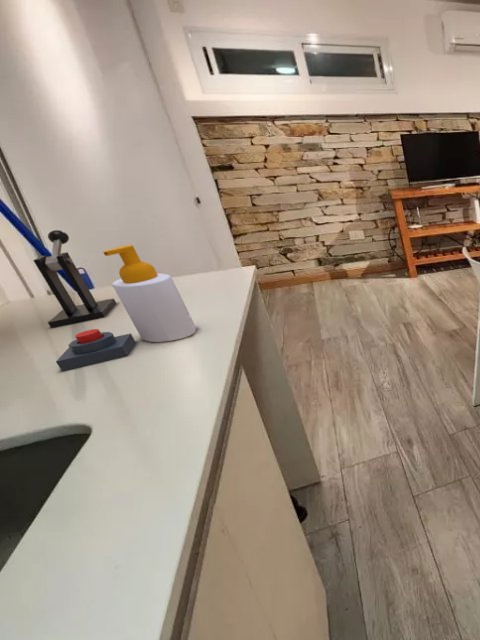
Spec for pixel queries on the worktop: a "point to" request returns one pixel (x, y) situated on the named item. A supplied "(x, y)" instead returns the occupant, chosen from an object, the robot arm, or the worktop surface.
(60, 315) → the black stand
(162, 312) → the soap bottle
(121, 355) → the button block
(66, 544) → the worktop surface
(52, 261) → the lever
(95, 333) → the button
